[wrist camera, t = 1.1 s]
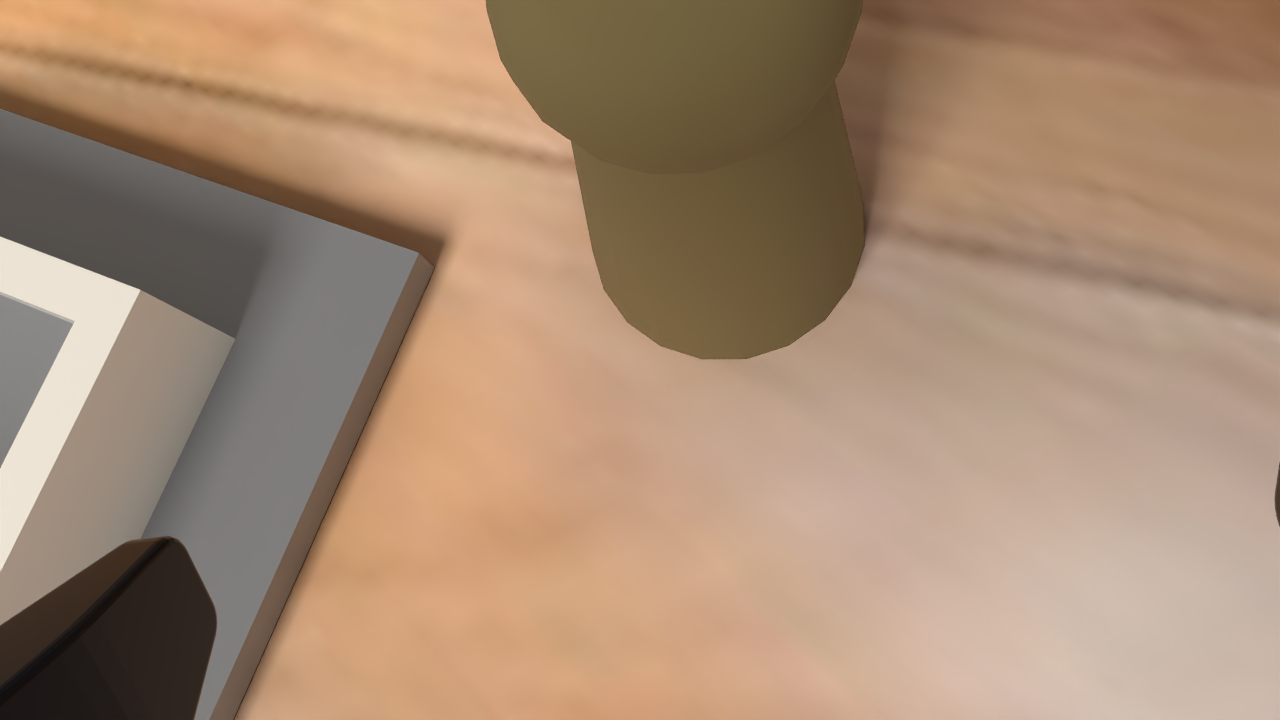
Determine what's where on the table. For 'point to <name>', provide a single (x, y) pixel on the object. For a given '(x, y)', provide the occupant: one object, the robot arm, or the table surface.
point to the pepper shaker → (702, 157)
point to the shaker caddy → (179, 376)
